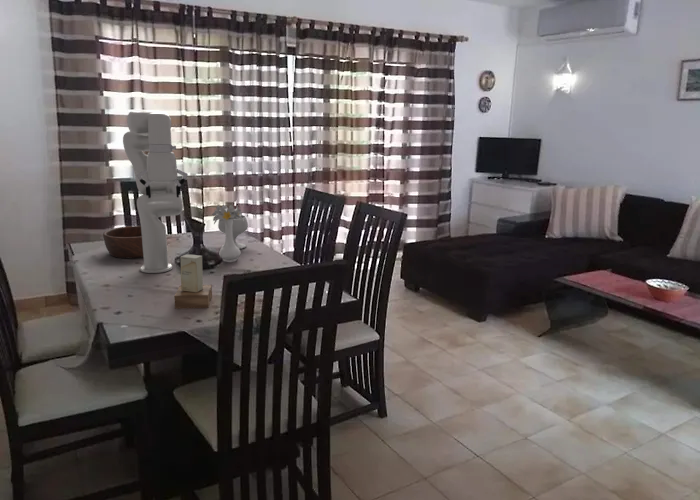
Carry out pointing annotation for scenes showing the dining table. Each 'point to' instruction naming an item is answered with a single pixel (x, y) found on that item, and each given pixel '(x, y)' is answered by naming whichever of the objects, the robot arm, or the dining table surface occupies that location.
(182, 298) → the light wood square block
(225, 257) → the flower vase
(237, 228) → the chalice
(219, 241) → the dining table surface
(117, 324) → the dining table surface
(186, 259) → the skincare box
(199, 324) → the dining table surface
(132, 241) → the wooden bowl
